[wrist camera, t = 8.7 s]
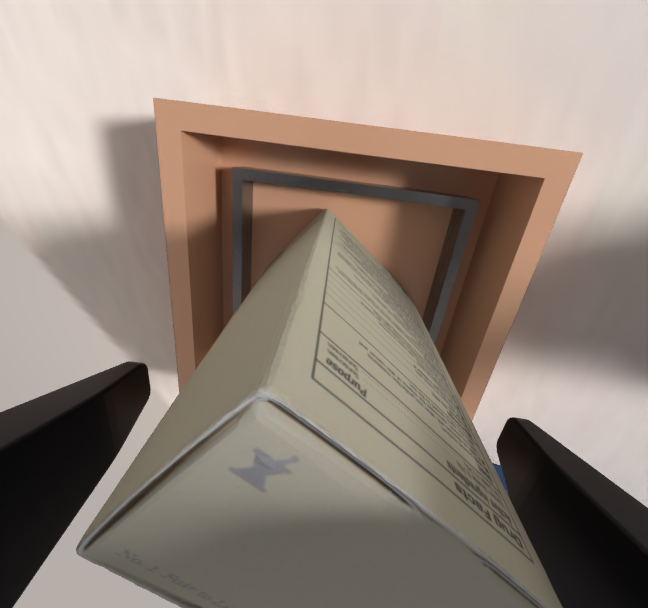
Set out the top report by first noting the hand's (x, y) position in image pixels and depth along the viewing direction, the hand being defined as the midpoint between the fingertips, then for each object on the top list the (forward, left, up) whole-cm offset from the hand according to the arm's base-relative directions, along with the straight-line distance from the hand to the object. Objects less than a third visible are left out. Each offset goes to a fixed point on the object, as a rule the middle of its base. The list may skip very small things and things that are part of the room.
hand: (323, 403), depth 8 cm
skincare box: (0, 0, -8) cm, 9 cm away
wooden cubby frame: (0, 0, -9) cm, 9 cm away
